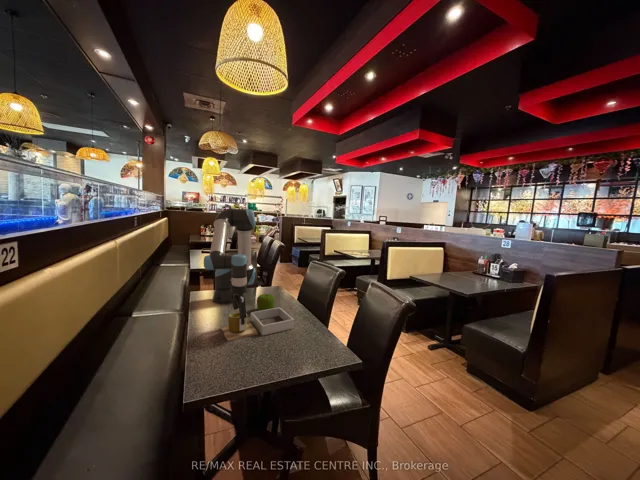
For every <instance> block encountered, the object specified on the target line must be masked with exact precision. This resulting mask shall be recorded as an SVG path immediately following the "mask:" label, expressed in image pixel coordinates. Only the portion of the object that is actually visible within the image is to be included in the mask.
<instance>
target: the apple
mask: <svg viewBox="0 0 640 480" xmlns="http://www.w3.org/2000/svg"><path fill="white" fill-rule="evenodd" d="M275 300H276V299H275V295H273V294H272V293H262V294H260V295H258V297H257V298H256V306H257V307H256V308H257V311H262V310H267V309H273V308H275Z"/></svg>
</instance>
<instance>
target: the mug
mask: <svg viewBox="0 0 640 480" xmlns="http://www.w3.org/2000/svg"><path fill="white" fill-rule="evenodd" d="M246 315H247V316H248V314H247V313H246ZM239 317H240V313H234V312H233V313H230V314H229V315H228V320H227V323H228V325H229V330H230V332H233V333H234V332H235V333H236V332H243V331H245V330H246V328H247V321H248V317H247V318H245V330H242V331H240V330H239Z"/></svg>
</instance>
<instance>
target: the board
mask: <svg viewBox="0 0 640 480" xmlns="http://www.w3.org/2000/svg"><path fill="white" fill-rule="evenodd" d="M220 327H221V331H222V332H223V335H224V337H225V339H226V341H227V342H229V341H235V340H238V339H242V338H247V337H251V336H255V335H258V334H259V331H258V330H257V328H256V327H255V326H254V324H253V323H252V322H251V320H247V328H246V330H245V331H243V332H236V333H235V332H234V333H233V332H230V330H229V324H227V325H223V326H220Z"/></svg>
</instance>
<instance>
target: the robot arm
mask: <svg viewBox="0 0 640 480" xmlns="http://www.w3.org/2000/svg"><path fill="white" fill-rule="evenodd" d="M213 227H214V229H213V234H212V239H211V240H212V241H211V246H210V251H209V254H208V255H205V256H204V257H203V268H204V269H205V270H210V271H211V270H212V271H214V270H215V274H214V278H215V280H214V281H215V282H214V285H215V290H214V293H213V297H212V302H213V303H214V304H228V303H232V308H233V313H240V317H239V330H240V331H242V330H245V318H247V319H248V314H247V308H246V306H247V305H246V297H245V296H244V294H245V293H247V291H248V289H247V287H248V285H249V286H250V285H253V284H254V283H255V277H256V268H255V267H254V265H253V264H252V231H253V230H254V228H256V227H257V226H256V218H255V212H254V210H253V209H249V208H226V209H223V210H222V211H221V212H219V213H218V214H217V215H216V217H214V222H213ZM232 227H234V229H235V231H236V232H237V254H233V255H232V254H231V255H225V252H226V247H227V239H228V238H227V237H228V231H229V229H231V228H232ZM246 314H247V315H246Z"/></svg>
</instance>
